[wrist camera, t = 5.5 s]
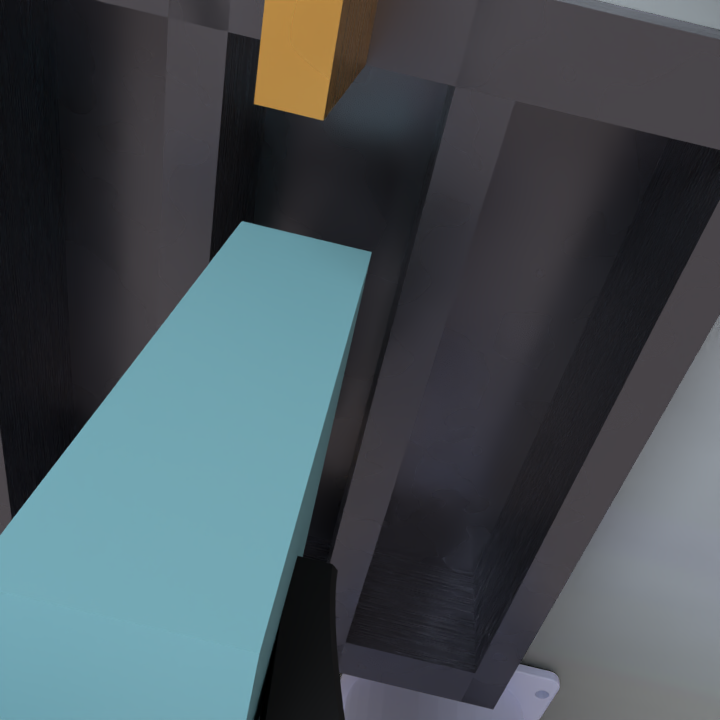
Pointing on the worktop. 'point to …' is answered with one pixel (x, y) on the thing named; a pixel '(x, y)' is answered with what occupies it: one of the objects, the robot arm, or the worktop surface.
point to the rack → (381, 267)
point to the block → (184, 499)
